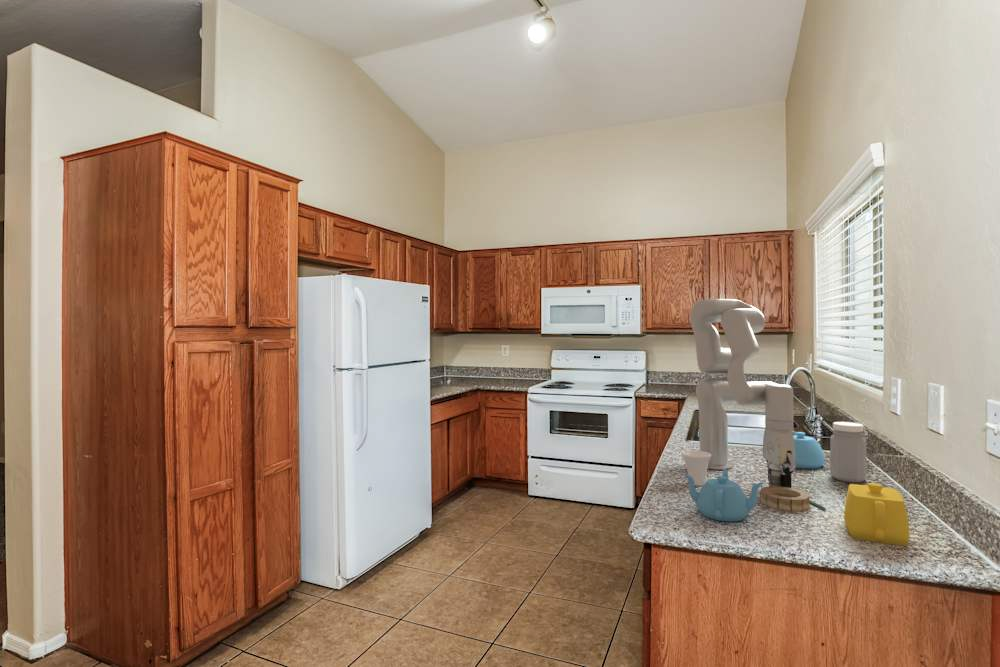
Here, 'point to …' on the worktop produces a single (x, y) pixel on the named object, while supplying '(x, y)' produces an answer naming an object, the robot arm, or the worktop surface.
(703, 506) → the teapot
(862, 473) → the jar
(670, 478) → the worktop surface
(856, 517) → the teapot
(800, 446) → the sugar bowl
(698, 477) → the cup
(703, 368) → the robot arm
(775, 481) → the pill bottle
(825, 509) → the green stick
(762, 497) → the segmented tan ring
